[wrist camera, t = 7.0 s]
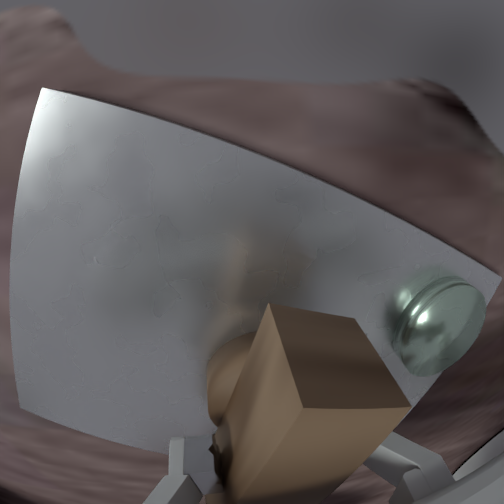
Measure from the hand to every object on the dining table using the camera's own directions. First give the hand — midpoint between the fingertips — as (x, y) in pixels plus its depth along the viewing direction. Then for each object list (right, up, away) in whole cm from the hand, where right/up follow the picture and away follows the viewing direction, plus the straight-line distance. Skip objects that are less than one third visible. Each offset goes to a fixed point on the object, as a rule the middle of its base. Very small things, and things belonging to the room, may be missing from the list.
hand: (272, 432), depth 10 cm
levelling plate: (-1, +2, +4) cm, 5 cm away
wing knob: (0, +1, +3) cm, 3 cm away
